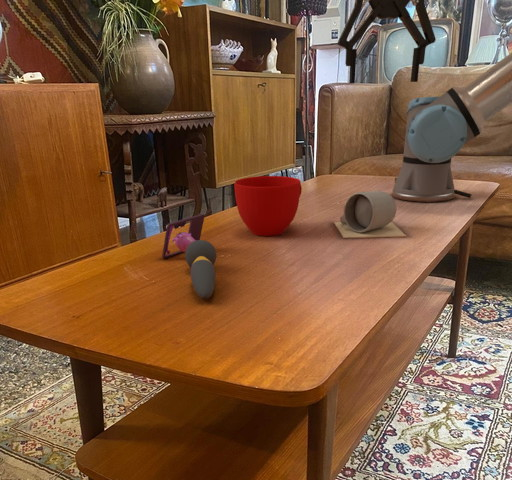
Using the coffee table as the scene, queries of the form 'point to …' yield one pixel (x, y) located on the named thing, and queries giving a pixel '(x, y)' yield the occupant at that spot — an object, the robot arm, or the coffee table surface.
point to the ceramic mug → (368, 211)
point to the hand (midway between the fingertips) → (382, 82)
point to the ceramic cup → (267, 203)
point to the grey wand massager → (202, 267)
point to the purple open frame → (183, 234)
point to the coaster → (384, 231)
